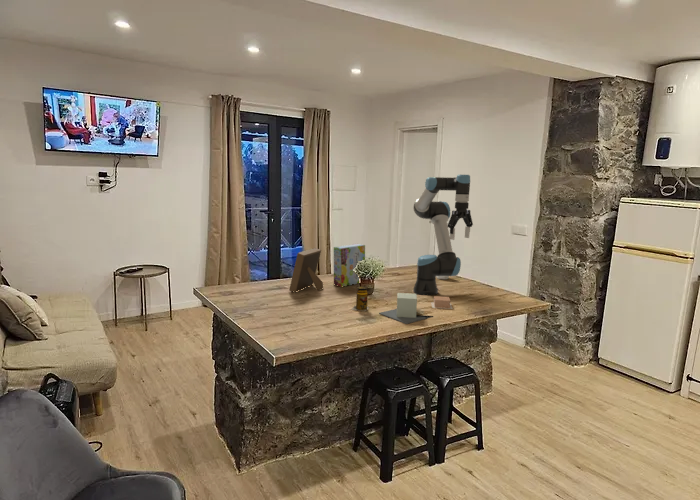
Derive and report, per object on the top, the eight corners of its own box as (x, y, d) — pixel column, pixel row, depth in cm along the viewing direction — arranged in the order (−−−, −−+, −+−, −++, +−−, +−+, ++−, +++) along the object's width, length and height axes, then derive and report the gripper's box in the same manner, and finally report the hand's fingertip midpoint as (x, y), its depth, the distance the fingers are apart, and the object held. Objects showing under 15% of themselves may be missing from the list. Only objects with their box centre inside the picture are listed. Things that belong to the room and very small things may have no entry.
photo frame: (289, 292, 283) (289, 251, 278) (307, 284, 302) (307, 246, 298) (310, 295, 277) (311, 254, 272) (327, 287, 296) (328, 249, 292)
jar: (441, 280, 324) (442, 263, 322) (433, 277, 331) (434, 261, 329) (451, 278, 329) (452, 262, 327) (442, 276, 336) (443, 260, 334)
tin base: (432, 310, 252) (432, 300, 251) (430, 304, 263) (431, 295, 262) (452, 311, 251) (453, 301, 250) (450, 305, 262) (451, 296, 261)
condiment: (365, 311, 248) (366, 289, 246) (350, 309, 250) (351, 288, 248) (369, 307, 255) (370, 286, 253) (354, 306, 257) (355, 285, 255)
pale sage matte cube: (396, 316, 238) (397, 297, 236) (396, 310, 248) (397, 292, 246) (416, 317, 237) (417, 298, 235) (415, 311, 247) (416, 293, 245)
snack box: (356, 280, 318) (357, 243, 313) (365, 282, 311) (366, 244, 307) (332, 285, 303) (333, 246, 299) (341, 287, 297) (342, 248, 292)
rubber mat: (378, 313, 244) (379, 312, 244) (405, 307, 256) (405, 306, 256) (406, 324, 229) (406, 322, 228) (433, 316, 241) (433, 315, 241)
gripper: (453, 202, 254) (450, 241, 257) (480, 201, 269) (478, 237, 273) (442, 201, 259) (440, 239, 263) (470, 200, 275) (467, 236, 278)
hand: (459, 238), depth 268 cm, fingers open, 13 cm apart
